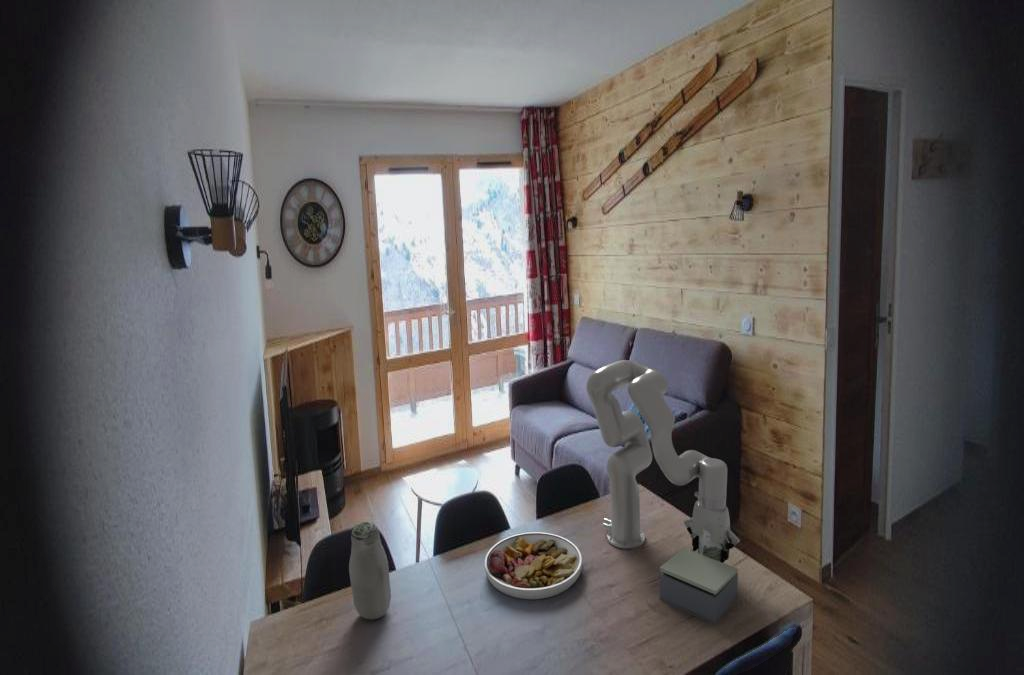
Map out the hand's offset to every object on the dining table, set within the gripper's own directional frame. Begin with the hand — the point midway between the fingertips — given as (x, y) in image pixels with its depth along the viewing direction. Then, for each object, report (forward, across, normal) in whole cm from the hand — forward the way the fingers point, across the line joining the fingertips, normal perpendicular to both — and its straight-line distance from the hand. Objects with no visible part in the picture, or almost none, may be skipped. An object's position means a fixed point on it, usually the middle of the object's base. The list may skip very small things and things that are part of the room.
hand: (709, 554), depth 164 cm
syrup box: (+5, 0, 0) cm, 5 cm away
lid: (-3, +3, -13) cm, 13 cm away
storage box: (+6, +3, -13) cm, 15 cm away
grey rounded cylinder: (+8, -63, -76) cm, 99 cm away
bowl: (+8, -41, -33) cm, 53 cm away
